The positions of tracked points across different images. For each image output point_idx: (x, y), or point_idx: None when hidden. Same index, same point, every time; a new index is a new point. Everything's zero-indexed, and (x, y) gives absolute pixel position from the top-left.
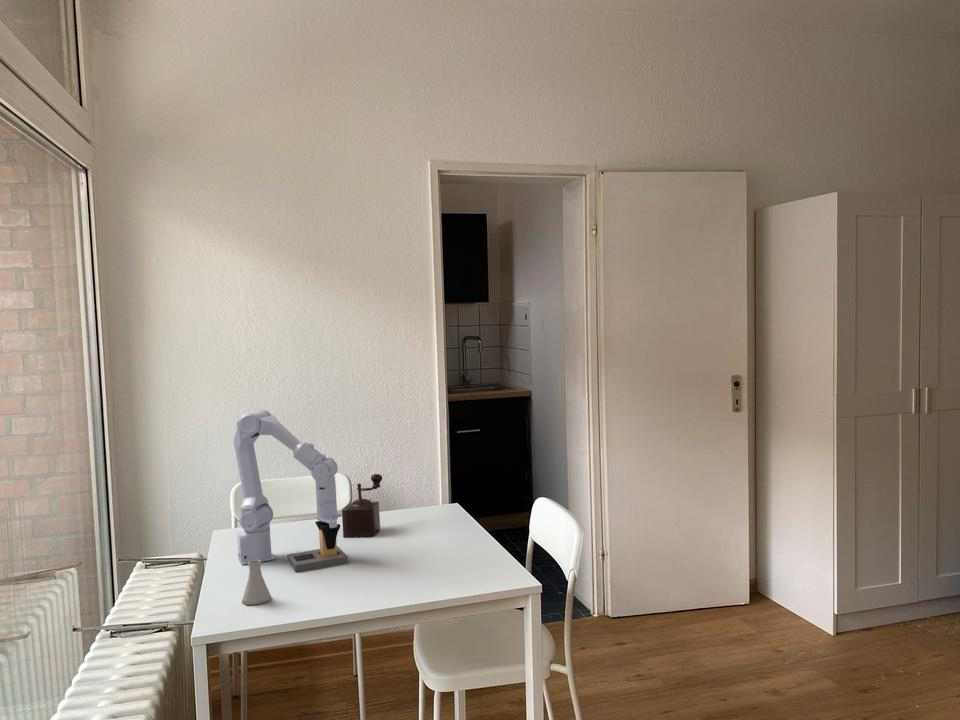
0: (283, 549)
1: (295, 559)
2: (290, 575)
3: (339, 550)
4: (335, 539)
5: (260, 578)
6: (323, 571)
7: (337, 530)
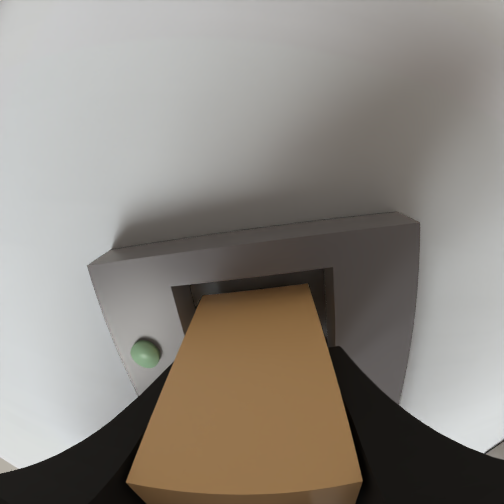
0: (50, 426)
1: None
2: None
3: (216, 266)
4: (384, 396)
5: None
6: (442, 352)
7: (478, 463)
